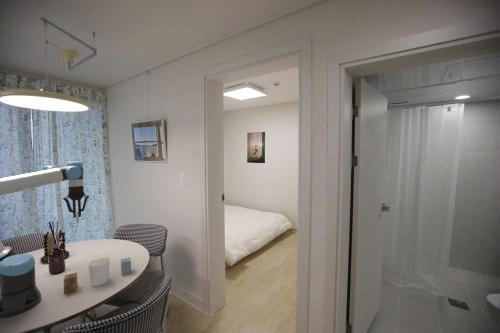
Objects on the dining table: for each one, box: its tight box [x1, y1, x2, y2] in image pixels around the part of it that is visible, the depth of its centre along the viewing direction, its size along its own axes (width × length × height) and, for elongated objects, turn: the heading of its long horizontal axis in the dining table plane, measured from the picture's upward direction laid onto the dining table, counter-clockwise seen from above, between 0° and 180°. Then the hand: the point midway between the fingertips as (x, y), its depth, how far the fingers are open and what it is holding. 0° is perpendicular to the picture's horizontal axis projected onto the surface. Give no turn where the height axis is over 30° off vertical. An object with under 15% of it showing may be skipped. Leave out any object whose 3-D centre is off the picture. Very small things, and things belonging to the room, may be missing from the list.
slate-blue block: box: [120, 257, 132, 276], centre depth 133 cm, size 5×5×8 cm
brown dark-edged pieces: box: [40, 229, 70, 265], centre depth 149 cm, size 15×15×20 cm
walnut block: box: [63, 272, 78, 295], centre depth 116 cm, size 5×5×8 cm
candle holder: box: [88, 257, 110, 287], centre depth 123 cm, size 10×10×12 cm
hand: (77, 222), depth 138 cm, fingers closed
